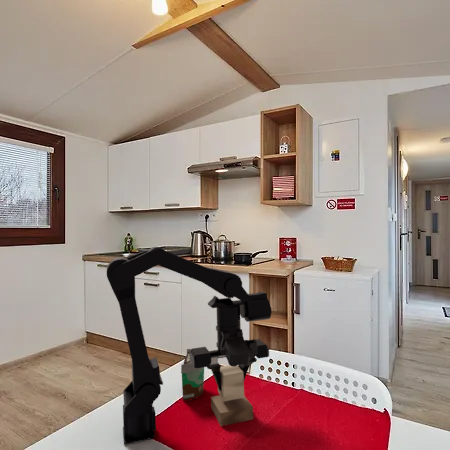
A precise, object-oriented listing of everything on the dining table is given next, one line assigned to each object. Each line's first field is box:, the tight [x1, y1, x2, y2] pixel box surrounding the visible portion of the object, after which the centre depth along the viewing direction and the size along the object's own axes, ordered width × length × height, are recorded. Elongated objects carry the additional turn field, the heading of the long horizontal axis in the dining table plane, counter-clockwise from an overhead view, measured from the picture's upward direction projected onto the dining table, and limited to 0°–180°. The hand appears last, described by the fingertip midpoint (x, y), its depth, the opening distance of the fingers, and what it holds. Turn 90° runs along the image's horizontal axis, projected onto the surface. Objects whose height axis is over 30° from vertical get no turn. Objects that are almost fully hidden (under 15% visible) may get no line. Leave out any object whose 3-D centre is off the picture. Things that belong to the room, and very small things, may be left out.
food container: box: [180, 348, 205, 402], centre depth 96 cm, size 12×6×10 cm, turn 179°
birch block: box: [217, 364, 245, 401], centre depth 84 cm, size 5×5×6 cm
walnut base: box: [210, 394, 254, 427], centre depth 84 cm, size 8×8×3 cm
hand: (230, 388), depth 84 cm, fingers closed on birch block, 5 cm apart
